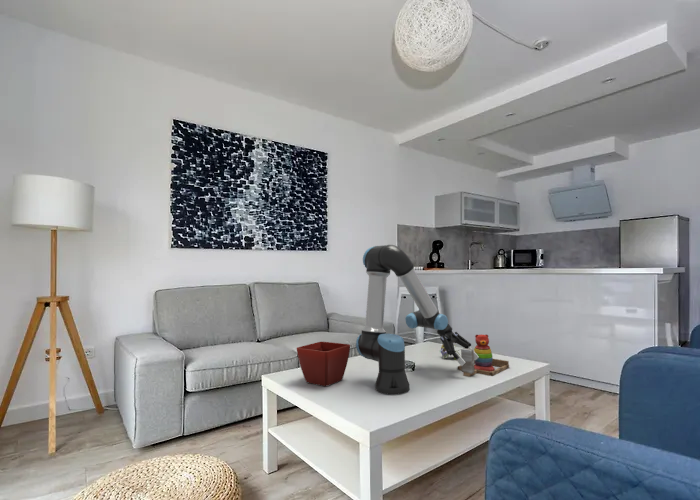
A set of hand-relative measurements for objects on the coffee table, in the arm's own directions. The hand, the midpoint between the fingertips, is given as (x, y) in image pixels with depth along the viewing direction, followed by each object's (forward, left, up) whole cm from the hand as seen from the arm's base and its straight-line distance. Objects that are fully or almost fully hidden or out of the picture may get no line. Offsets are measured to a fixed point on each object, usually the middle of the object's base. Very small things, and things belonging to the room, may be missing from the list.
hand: (470, 361), depth 182 cm
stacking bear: (+15, +1, -7) cm, 17 cm away
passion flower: (+25, +26, -7) cm, 37 cm away
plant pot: (-53, +48, -7) cm, 72 cm away
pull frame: (+11, +1, -7) cm, 13 cm away
